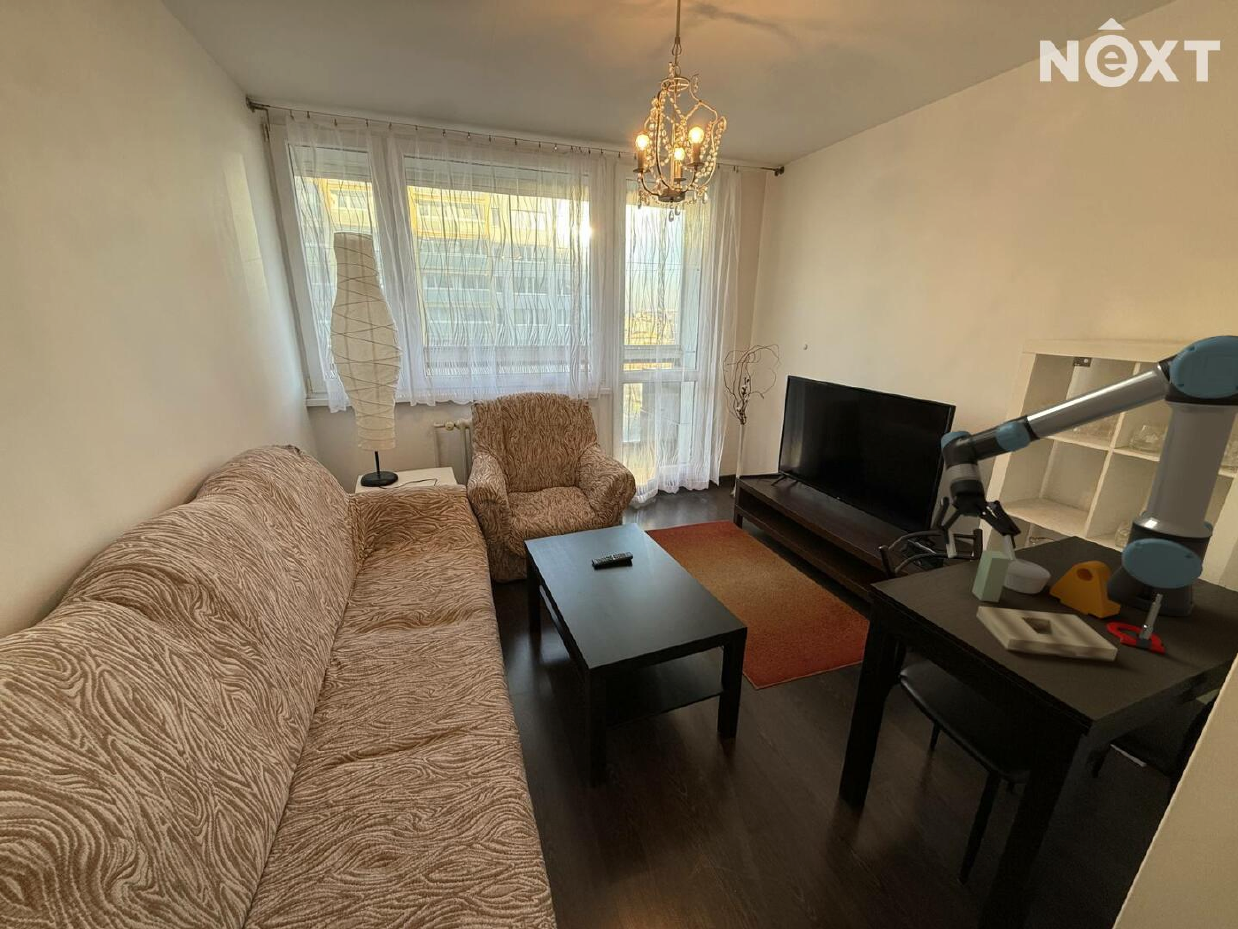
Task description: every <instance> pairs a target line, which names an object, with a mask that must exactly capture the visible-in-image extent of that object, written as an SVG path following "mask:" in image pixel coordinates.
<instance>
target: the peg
mask: <svg viewBox="0 0 1238 929" xmlns="http://www.w3.org/2000/svg"><path fill="white" fill-rule="evenodd" d="M980 556H981V557H980V561H979V564H978V568H977V571H976V575H975V580H974V583H973V587H972V593H973V594H974V596H976V597H977V598H978V599H979V601H983V602H984V601H985V602H994V603H999V600H1000V596H1001V595H1002V594H1001V593H1002V590H1003V587H1004V586H1003V583H1004V580H1005V576H1006V573H1007V569H1008V566H1009V562H1010V558H1008V557H1007V556H1006V555H1005V554H1004V552H1003V551H999V550H989V549H988V550H987V549H983V550H982V553H981V555H980Z"/></svg>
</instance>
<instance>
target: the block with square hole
mask: <svg viewBox="0 0 1238 929" xmlns="http://www.w3.org/2000/svg"><path fill="white" fill-rule="evenodd" d="M975 618H976V619H977V620H978V622H980V624H981V625H983V627H984V628H985V629H986V630H987V631H988V632H989V634H991V636H993V638H994V639H995V640H996V641H997V642H998V643H999V644H1000V645H1001V647H1002V648H1003V649H1004V650H1005V651H1006V652H1018V653H1025V654H1033V655H1035V654H1036V655H1043V656H1044V655H1045V656H1054V657H1055V656H1056V657H1063V658H1064V657H1065V658H1072V659H1073V658H1075V659H1082V660H1092V661H1103V662H1112V663H1113V662H1114V661H1115V659H1116V656H1117V653H1118V652H1119V649H1118V648H1117V647H1115V646H1114V645H1113V644H1112V643H1111V642H1110V641H1108V640H1107V639H1106V638H1104V637H1103V636H1101V635H1100V634H1099V633H1098V632H1097V631H1095V630H1094V629H1093V628H1092V627H1091V626H1090V625H1088V624H1087V623H1086V622H1084V621H1083V620H1082V619H1081V618H1080V617H1078V616H1077V615H1076V614H1067V613H1056V612H1045V611H1035V610H1034V611H1033V610H1025V609H1024V610H1022V609H1012V608H1003V607H992V606H991V607H990V606H981V605H979V606H978V608H977V612H976V616H975Z"/></svg>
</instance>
